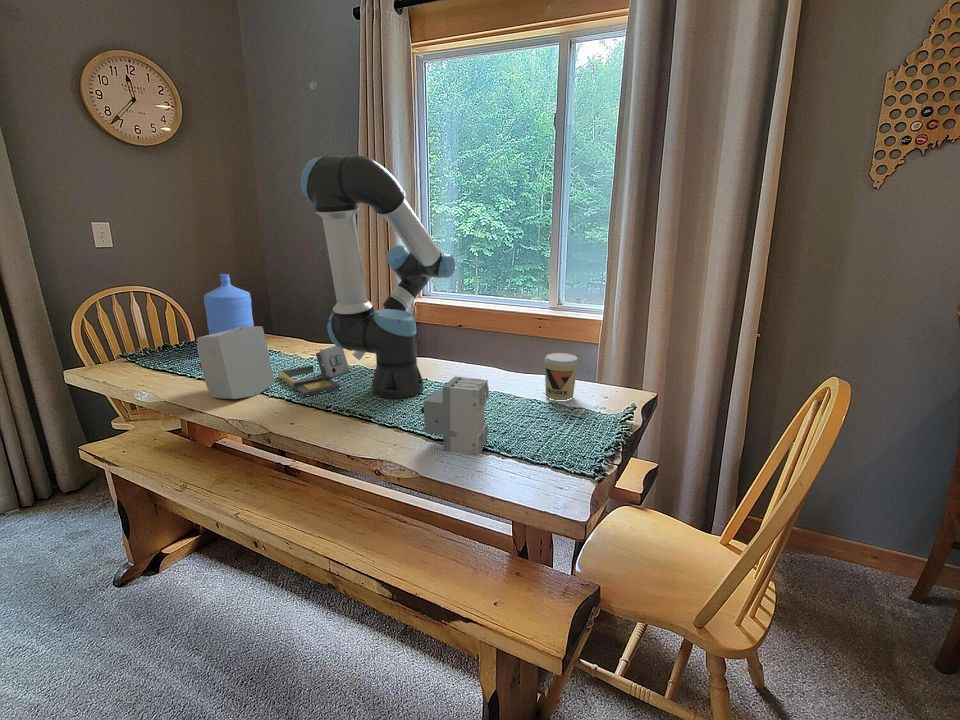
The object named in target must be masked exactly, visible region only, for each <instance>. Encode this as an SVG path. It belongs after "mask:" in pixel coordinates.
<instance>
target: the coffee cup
mask: <svg viewBox="0 0 960 720" xmlns="http://www.w3.org/2000/svg"><path fill="white" fill-rule="evenodd" d="M578 363H579V359H578V357H577V356H576V355H574V354H571V353H565V352H552V353H548V354H546V356H545V357H544V366H545V367H544V371H545V373H544V374H545V377H544V378H545V380H544V381H545V397H546V396H547V397H548V398H551V399H554V400H567V399H570V398H572V397H573V398H574V394H575V393H574V392H575V385H576V377H577V373H578V372H577V370H578ZM547 397H546V398H547ZM548 398H547V399H548ZM573 398H572V399H573Z"/></svg>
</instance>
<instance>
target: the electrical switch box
mask: <svg viewBox="0 0 960 720" xmlns="http://www.w3.org/2000/svg"><path fill="white" fill-rule="evenodd" d="M196 346H197V348H196V349H197V350H196V351H197V353H198V354H197V355H198V360H199V361H200V363H199V367H200V368H199V369H201V370H202V373H203V374H202V375H203V379H204V382H205V386H206V389H207V390H208V393H209V395H210V396H211V398H212V399H229V400H236V399H243V398H244V399H245V398H250V397H255V396H258V395H259V394H261V393H262V392H264V391H266V390H268V389H269V388H270V387H272V386H274V385H275V383H276V380H275V376H274V373H273V368H272V363H271V358H270V354H269V349H268V345H267V340H266V335H265V331H264V327H263V326H262V325H261V326H259V325H258V326H257V325H256V326H255V325H254V326H243V327H237V328H235V329H233V330H228V331H224V332H220V333H215V334H211V335H209V334H207V335H204V336H199V337H197V339H196Z"/></svg>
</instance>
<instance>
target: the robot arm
mask: <svg viewBox="0 0 960 720" xmlns="http://www.w3.org/2000/svg"><path fill="white" fill-rule="evenodd" d="M300 188H301V191H302V194H303V195H304V197H305V198H306V200H307V201H309V202H310V203H311V204H314V205H313V206H314V211H315V213H316V214H317V215H318V216H319V217H321V219H322V223H323V224H322V225H323V228H324V229H323V230H324V234H325V240H326V247H327V252H328V256H329V262H330V269H331V276H332V281H333V286H334V287H333V288H334V293H335V299H336V303H335V305H334V306H333V308H332V313H331V314H330V316H329V318H328V322H327V326H326V327H327V333H328V336H329V339H330V340H331V342H332V343H333V344H334V346H335V345H336V346H338V347H340V348H343V350H347V351H349V352H350V351H351V352H352V351H353V353H352V354H351V355H352V356H353V357H355V358H356V359H357V360H358V361H361V360H362V358H363V357H364V355H365V354H366V353H367V354H375V359H376V368H375V370H374V374H373V377H372V381H371V393H372V394H373V395H374V394H375V395H374V396H376V395H377V396H376V397H378V396H380V397H379V398H382V397H384V399H391V398H398V399H406V398H405V397H407V398H411V397H410V396H412V397H414V395H415V396H417V395H416V394H418V395H420V394H421V393H423V391H424V380H423V378H422V375H421V371H420V368H419V366H418V359H417V358H418V357H417V355H418V354H417V353H418V352H417V351H418V350H417V347H418V346H417V345H418V344H417V332H418V330H417V326H416V325H417V323H416V319H415V317H414V315H412V314H411V313H410V312H408V311H407V309H409V307H410V306H411V305H412V304H413V302H414V300H416V298H417V297H418V296H419V294H421V292H422V291H423V290H424V289H425V287H426V286H427V285H428V283H429V281H430V280H431V278H435V279H436V278H437V279H449V278H451V277H452V276H453V275H454V274H455V270H456V261H455V259H454V256H453V255H452V254H449V253H442V251H441V250H440V249H439V247H438V245H437V244H436V243H435V241H434V240H433V239H432V237H431V236H430V234H429V232H428V230H427V229H426V228H425V226H424V225H423V224H422V222H421V221H420V219H419V217H418V216H417V215H416V213H415V212H414V210H413V209H412V207H411V206H410V204H409V203H408V201H407V200H406V192H405V190H404V188H403V187H402V186H401V184H400V183H399V181H398V180H397V178H395V176H394V175H393V174H392V173H391V172H390V171H388V169H386V168H385V167H384V166H383V165H382V164H380V163H379V162H377V161H375V160H374V159H372V158H369V157H368V156H367V157H366V156H364V155H358V154H354V155H339V156H338V155H335V156H331V155H330V156H329V155H327V156H326V155H324V156H320V157H314V158H312V159H310V160H309V161H307V162H306V164H305V167H304V168H303V169H302V171H301V176H300ZM360 204H363V205H367V206H369V207H370V208H371V209H372V210H373V211H374V212H375V214H377V215H379V216H382V217H383V218H384V219H385V220H386V221H387V224H389V227H391V229H392V230H393V231H394V232H395V233H396V234H397V236H398V238H400V240H401V241H402V242H403V244H404V245H405V246H404V245H402V244H397V245H394V246H392V247H391V248H390V249H389V250H388V251H387V254H386V255H385V257H386V261H387V264H388V265H389V266H390V269H392V270H393V272H394V273H395V275H396V276H397V277H398V278H399V280H400V281H399V283H398V284H397V286H396V287H395V288H393V290H392V292H391V293H390V296H388V297H387V298H386V299H385V300H384V302H383V306H382V307H384V308H383V309H378V310H376V311H375V308H374V303H373V302H371V301H370V300H369V299H368V297H367V288H366V281H365V276H364V270H363V262H362V255H361V248H360V243H359V242H360V241H359V240H360V239H359V236H358V235H359V233H358V228H357V221H356V214H357V213H358V212H359V210H360ZM420 392H421V393H420ZM419 393H420V394H419Z"/></svg>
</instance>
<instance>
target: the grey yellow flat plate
mask: <svg viewBox="0 0 960 720" xmlns="http://www.w3.org/2000/svg"><path fill="white" fill-rule="evenodd" d="M312 371H314V365H311V364H309V365H307V366H301V367H295V368H288V369H283V370H279V371H277V375H278V378H279V379H280V380H281V379H282V380H281V381H282V382H284V383H285V382H286V383H285V384H287V385H288V386H289V385H290V386H291V387H290V386H289V387H290V388H292V389H293V388H294V389H295V390H294V389H293V390H294V391H296V392H297V391H298V392H299V393H300V395H301V394H302V395H303V396H306V397H308V396H307V395H311V396H313V395H312V394H316V393H320V392H324V391H329V392H331V391H330V390H334V391H336V390H335V389H339V388H342V387H341V384H339V383H338V382H336V381H335V380H333V379H332V378H330V376H320V377H315V378H309V379H304V380H298V381H296V380H294V379H293V378H292V376H291V375H294V376H298V375H297V374H299V375H303V374H302V373H304V374H309V373H308V372H310V373H313V372H312ZM314 372H315V371H314ZM339 390H340V389H339ZM298 392H297V393H298ZM299 393H298V394H299ZM320 394H321V393H320ZM302 395H301V396H302ZM316 395H317V394H316ZM303 396H302V397H303Z"/></svg>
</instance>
